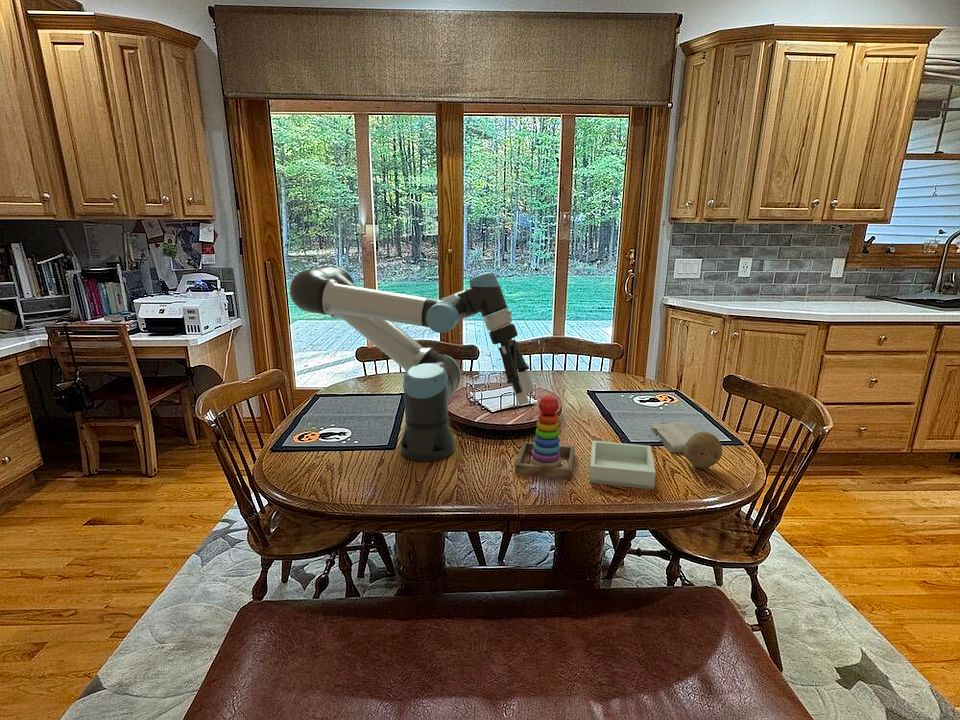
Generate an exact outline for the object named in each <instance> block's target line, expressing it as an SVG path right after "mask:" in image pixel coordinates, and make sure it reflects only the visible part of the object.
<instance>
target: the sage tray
mask: <svg viewBox="0 0 960 720" xmlns="http://www.w3.org/2000/svg"><path fill="white" fill-rule="evenodd" d="M654 462H655V461H654V456H653V452H652V446H651V445H644V444H634V443H623V442H621V443H620V442H613V441H604V440H603V441H602V440H592V441H591V453H590V464H589V466H590V467H589V469H590V471H589V483H590V484H597V485H598V484H599V485H600V484H601V485H605V486H606V485H608V486H617V487H623V488H635V489H643V490H651V489H652V490H655V481H656V468H655V463H654ZM652 490H651V491H652Z"/></svg>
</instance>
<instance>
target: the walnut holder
mask: <svg viewBox="0 0 960 720" xmlns="http://www.w3.org/2000/svg"><path fill="white" fill-rule="evenodd" d="M534 442H535V441H534ZM534 442H532V441H523V442H522V445H521V448H520V451H519V452H518V456H517V458H516V460H515V461H516V462H515V464H514V474H516V473H519V474H518V475H525V474H526V475H527V476H533V477H544V478H553V479H563V480H572V475H573V473H572V472H573V466H574V461H575V449H576V448H575V446H574V445H573V446H572V445H565V444H564V445H563V444H560V450H559V451H560V456H564V455H565V457H568V462H567V463H568V464H567V467H561V466H559V467H552V466H543V465H533V464H532V463H531V464H530V463H523V462H524V460H525V457H526V455H527V453H531V452H532V449H533V444H534ZM526 475H525V476H526Z"/></svg>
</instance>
